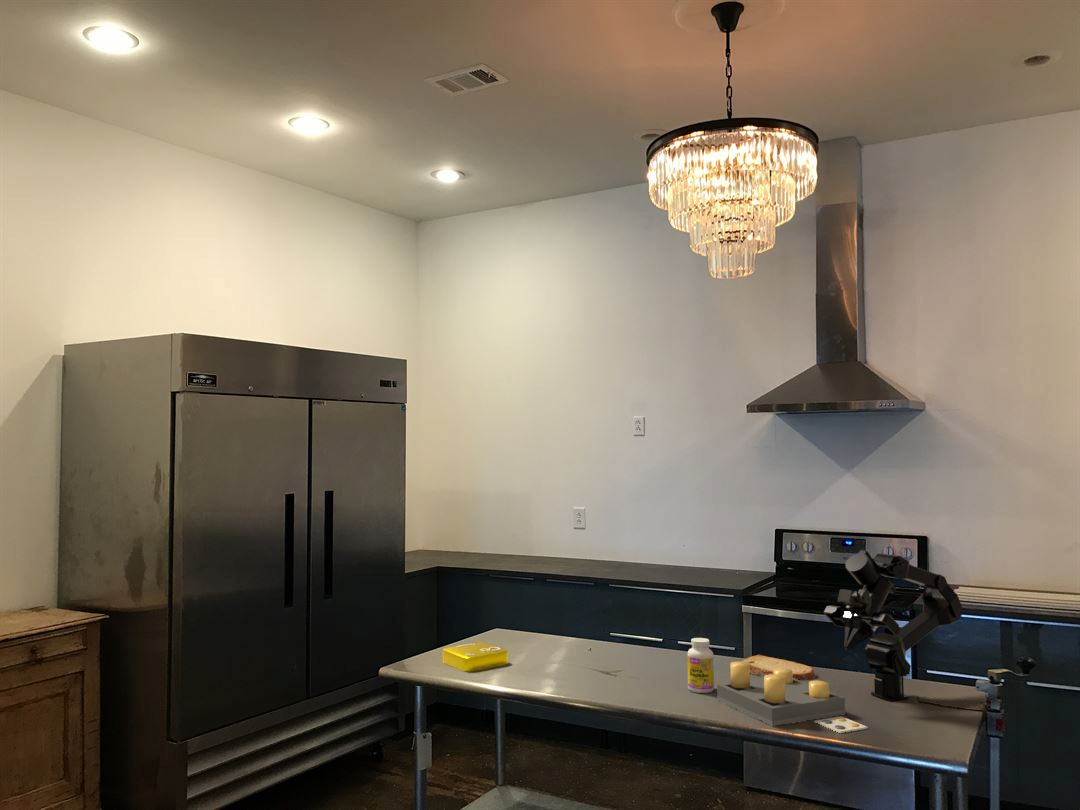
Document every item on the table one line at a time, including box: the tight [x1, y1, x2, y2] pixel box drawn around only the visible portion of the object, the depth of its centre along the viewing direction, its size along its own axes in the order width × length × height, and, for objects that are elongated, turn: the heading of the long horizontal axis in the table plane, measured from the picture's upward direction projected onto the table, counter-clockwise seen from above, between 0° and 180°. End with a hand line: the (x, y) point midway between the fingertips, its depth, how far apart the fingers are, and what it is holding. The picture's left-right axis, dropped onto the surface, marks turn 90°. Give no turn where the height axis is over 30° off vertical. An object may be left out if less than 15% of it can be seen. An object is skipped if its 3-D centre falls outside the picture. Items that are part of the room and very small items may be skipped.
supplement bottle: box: [687, 637, 715, 694], centre depth 213 cm, size 7×7×13 cm
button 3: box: [773, 668, 793, 684], centre depth 207 cm, size 5×5×5 cm
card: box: [813, 715, 868, 734], centre depth 185 cm, size 8×8×1 cm
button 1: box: [729, 661, 751, 688], centre depth 202 cm, size 5×5×5 cm
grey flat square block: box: [716, 677, 846, 727], centre depth 198 cm, size 21×21×4 cm
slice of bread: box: [740, 654, 817, 680], centre depth 230 cm, size 18×18×4 cm
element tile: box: [442, 641, 509, 673], centre depth 242 cm, size 15×15×5 cm
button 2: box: [763, 675, 785, 703], centre depth 190 cm, size 5×5×5 cm
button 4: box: [808, 680, 830, 699], centre depth 195 cm, size 5×5×5 cm
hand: (846, 649), depth 199 cm, fingers closed
